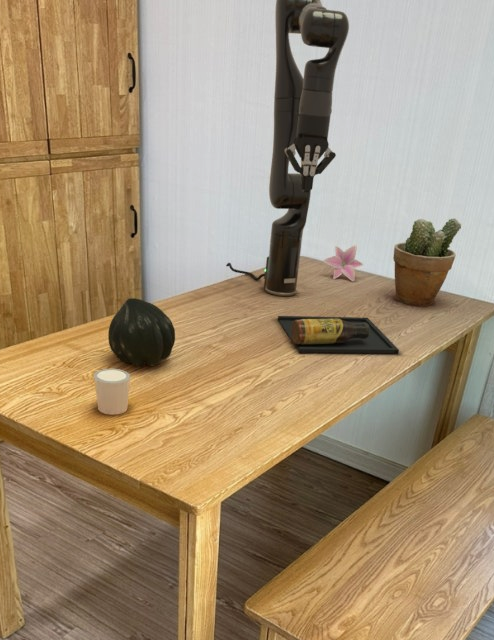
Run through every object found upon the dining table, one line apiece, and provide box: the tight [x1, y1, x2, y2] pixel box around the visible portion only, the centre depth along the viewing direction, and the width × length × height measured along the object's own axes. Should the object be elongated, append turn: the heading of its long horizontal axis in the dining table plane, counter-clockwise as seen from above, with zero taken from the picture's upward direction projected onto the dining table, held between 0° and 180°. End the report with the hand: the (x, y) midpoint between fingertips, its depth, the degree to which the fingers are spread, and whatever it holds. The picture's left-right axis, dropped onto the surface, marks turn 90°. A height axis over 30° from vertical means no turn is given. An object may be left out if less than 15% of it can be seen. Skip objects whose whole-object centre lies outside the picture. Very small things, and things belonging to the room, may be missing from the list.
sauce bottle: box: [291, 319, 369, 345], centre depth 176 cm, size 6×6×20 cm
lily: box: [323, 244, 364, 282], centre depth 232 cm, size 12×12×10 cm
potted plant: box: [392, 218, 462, 307], centre depth 211 cm, size 18×19×25 cm
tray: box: [277, 315, 400, 355], centre depth 183 cm, size 26×24×1 cm
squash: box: [107, 297, 176, 367], centre depth 155 cm, size 14×15×15 cm
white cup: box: [93, 368, 131, 416], centre depth 135 cm, size 7×7×7 cm
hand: (305, 191), depth 173 cm, fingers closed
